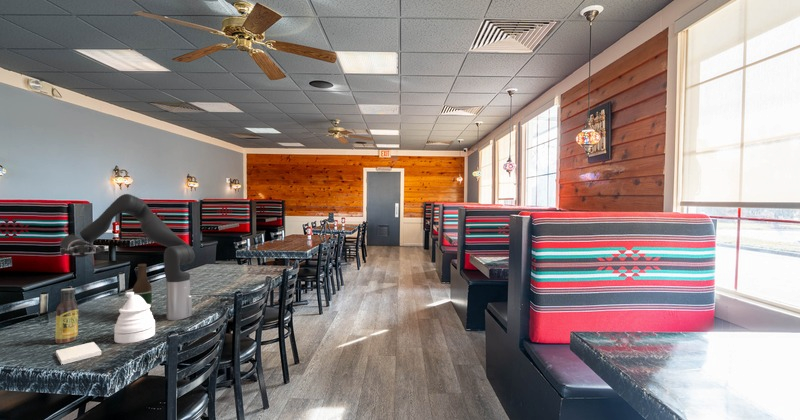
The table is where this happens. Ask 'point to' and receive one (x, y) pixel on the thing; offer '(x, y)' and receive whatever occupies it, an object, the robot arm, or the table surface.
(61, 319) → the sauce bottle
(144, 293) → the beer bottle
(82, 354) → the tile
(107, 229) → the robot arm
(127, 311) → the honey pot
